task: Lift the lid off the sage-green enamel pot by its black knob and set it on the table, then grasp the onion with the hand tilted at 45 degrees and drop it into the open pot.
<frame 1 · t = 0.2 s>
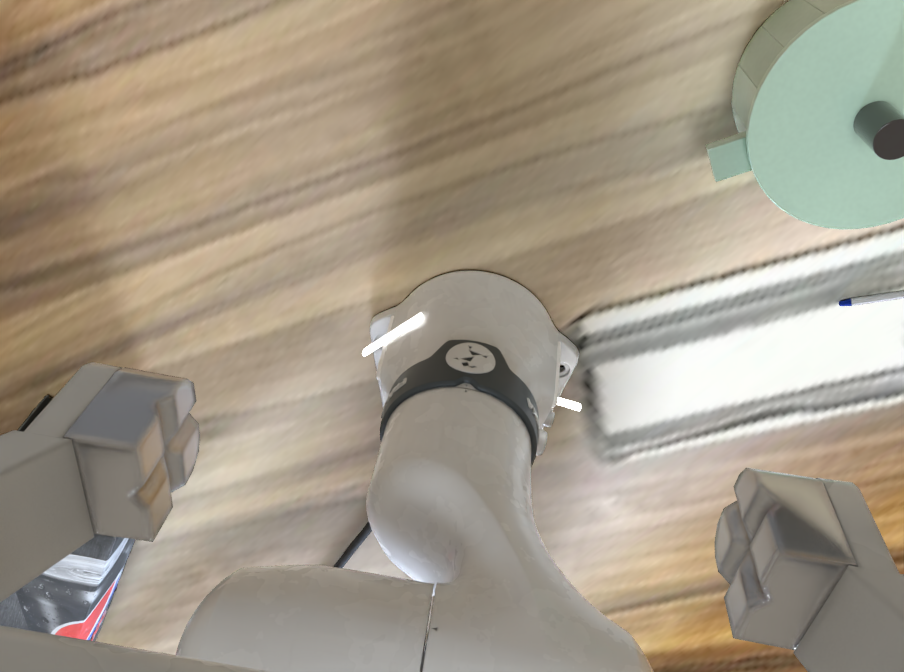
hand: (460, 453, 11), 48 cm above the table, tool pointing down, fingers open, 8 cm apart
pot lid: (871, 117, 46), point 7 cm above the table, touching pot
pot: (833, 83, 52), on the table
soda box: (79, 528, 90), on the table
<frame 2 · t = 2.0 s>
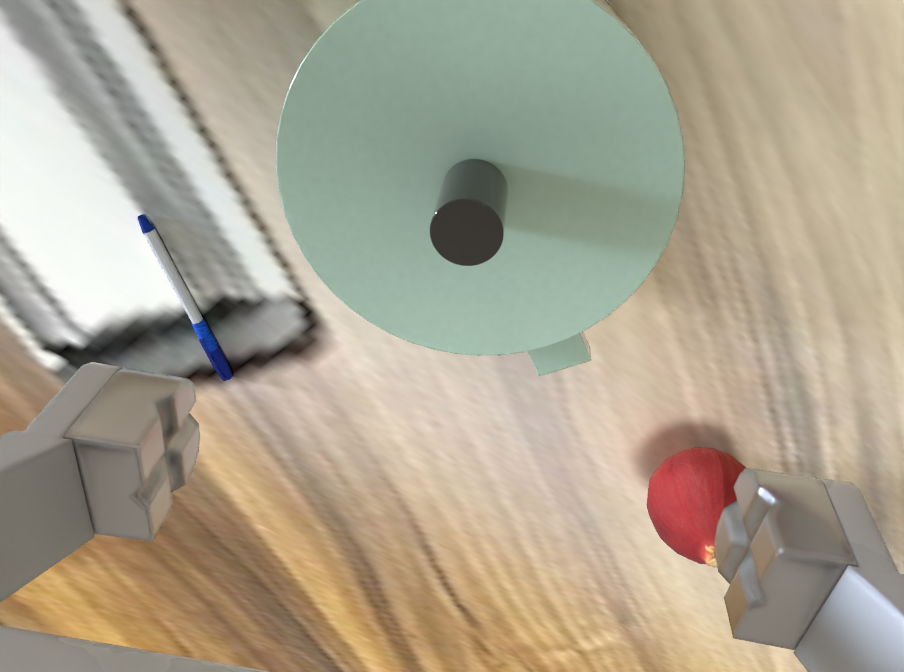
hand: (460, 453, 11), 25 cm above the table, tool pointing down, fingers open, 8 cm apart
pot lid: (476, 183, 28), point 7 cm above the table, touching pot
pot: (489, 118, 34), on the table
ballpoint pen: (191, 297, 41), on the table
onion: (691, 453, 44), on the table
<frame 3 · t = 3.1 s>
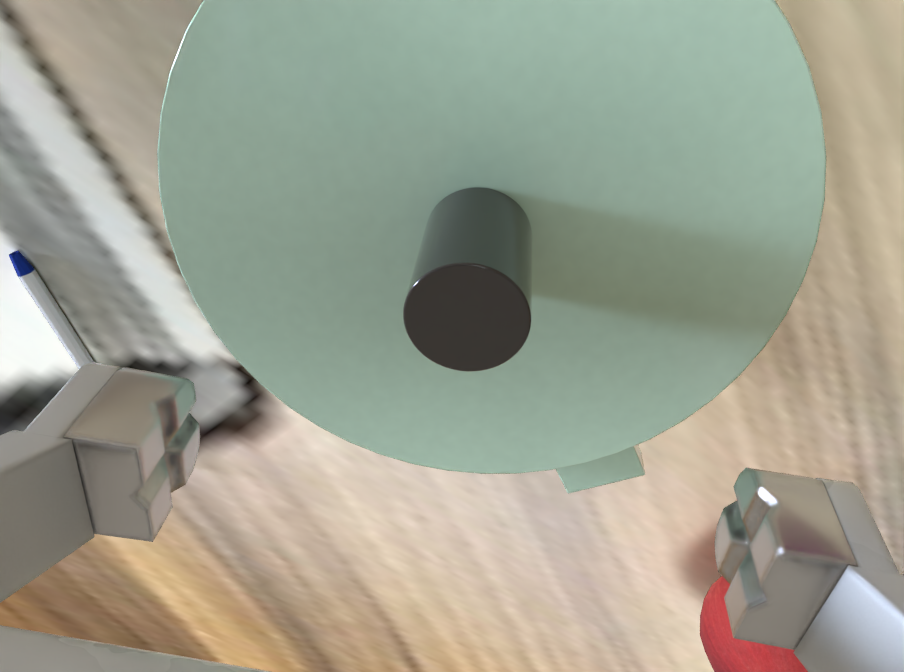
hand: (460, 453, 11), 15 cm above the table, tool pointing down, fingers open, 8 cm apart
pot lid: (480, 225, 17), point 7 cm above the table, touching pot
pot: (495, 121, 24), on the table
ballpoint pen: (93, 358, 31), on the table
onion: (753, 556, 34), on the table
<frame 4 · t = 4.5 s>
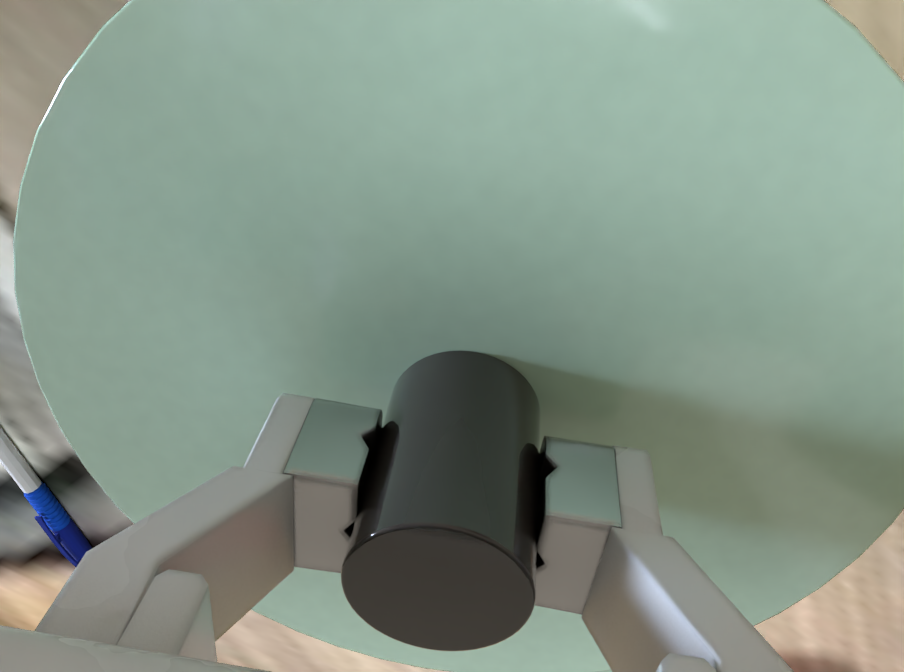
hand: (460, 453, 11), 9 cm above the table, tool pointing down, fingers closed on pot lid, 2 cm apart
pot lid: (468, 387, 13), point 8 cm above the table, touching gripper, pot
ballpoint pen: (22, 451, 26), on the table
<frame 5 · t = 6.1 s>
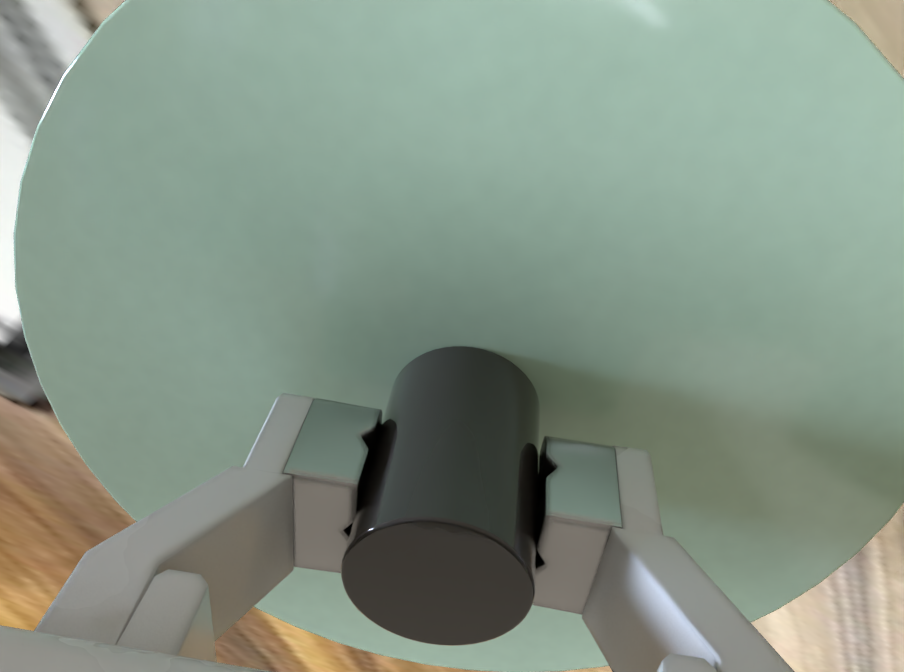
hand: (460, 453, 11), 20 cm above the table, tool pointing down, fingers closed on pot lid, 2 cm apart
pot lid: (468, 383, 13), point 18 cm above the table, touching gripper
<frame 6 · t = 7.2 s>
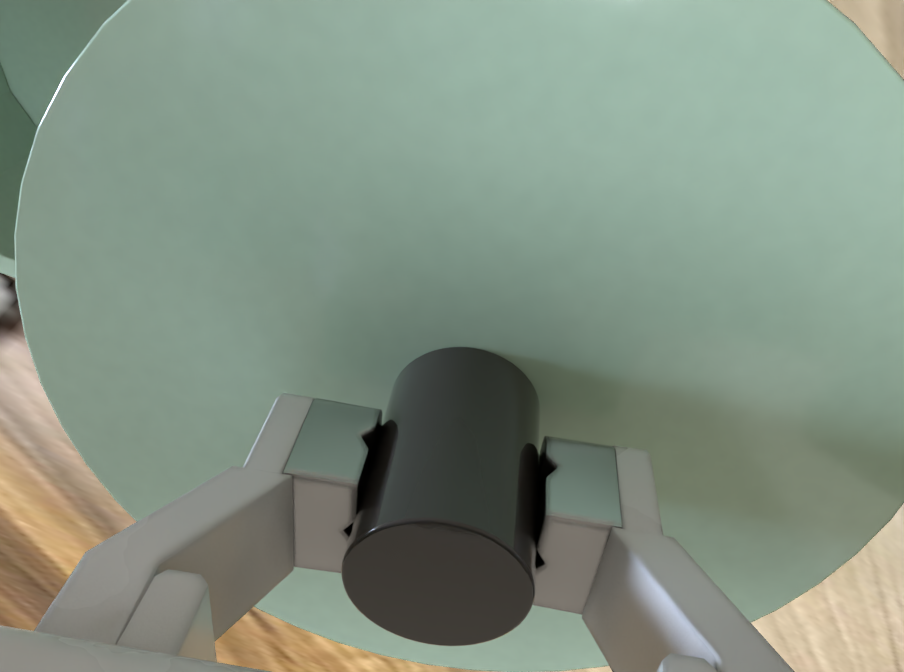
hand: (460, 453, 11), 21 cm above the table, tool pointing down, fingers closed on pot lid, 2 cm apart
pot lid: (468, 383, 13), point 20 cm above the table, touching gripper
pot: (148, 55, 30), on the table
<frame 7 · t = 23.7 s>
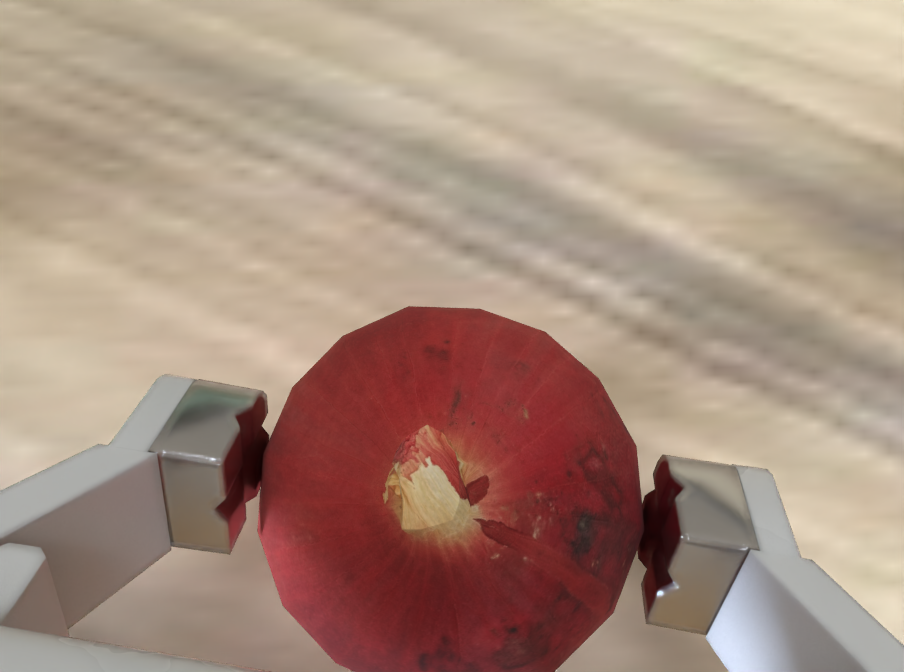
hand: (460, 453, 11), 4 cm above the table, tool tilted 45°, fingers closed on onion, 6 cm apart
onion: (452, 489, 16), on the table, touching gripper
when the fingers open (6 cm above the table, at t = 34.7 s): onion drops 1 cm, resting on pot.
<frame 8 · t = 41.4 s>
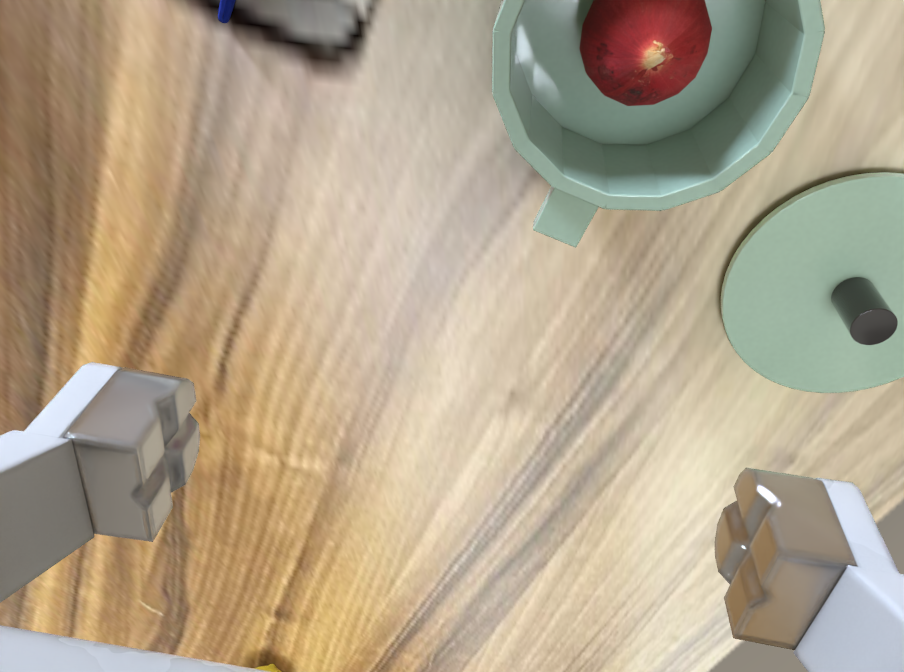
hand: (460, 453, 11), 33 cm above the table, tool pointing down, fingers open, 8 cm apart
pot lid: (849, 289, 45), point 1 cm above the table
pot: (635, 25, 38), on the table
onion: (636, 22, 38), resting on pot
lemon: (273, 663, 75), on the table
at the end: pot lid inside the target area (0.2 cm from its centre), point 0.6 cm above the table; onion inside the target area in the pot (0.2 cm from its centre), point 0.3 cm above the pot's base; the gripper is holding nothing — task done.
